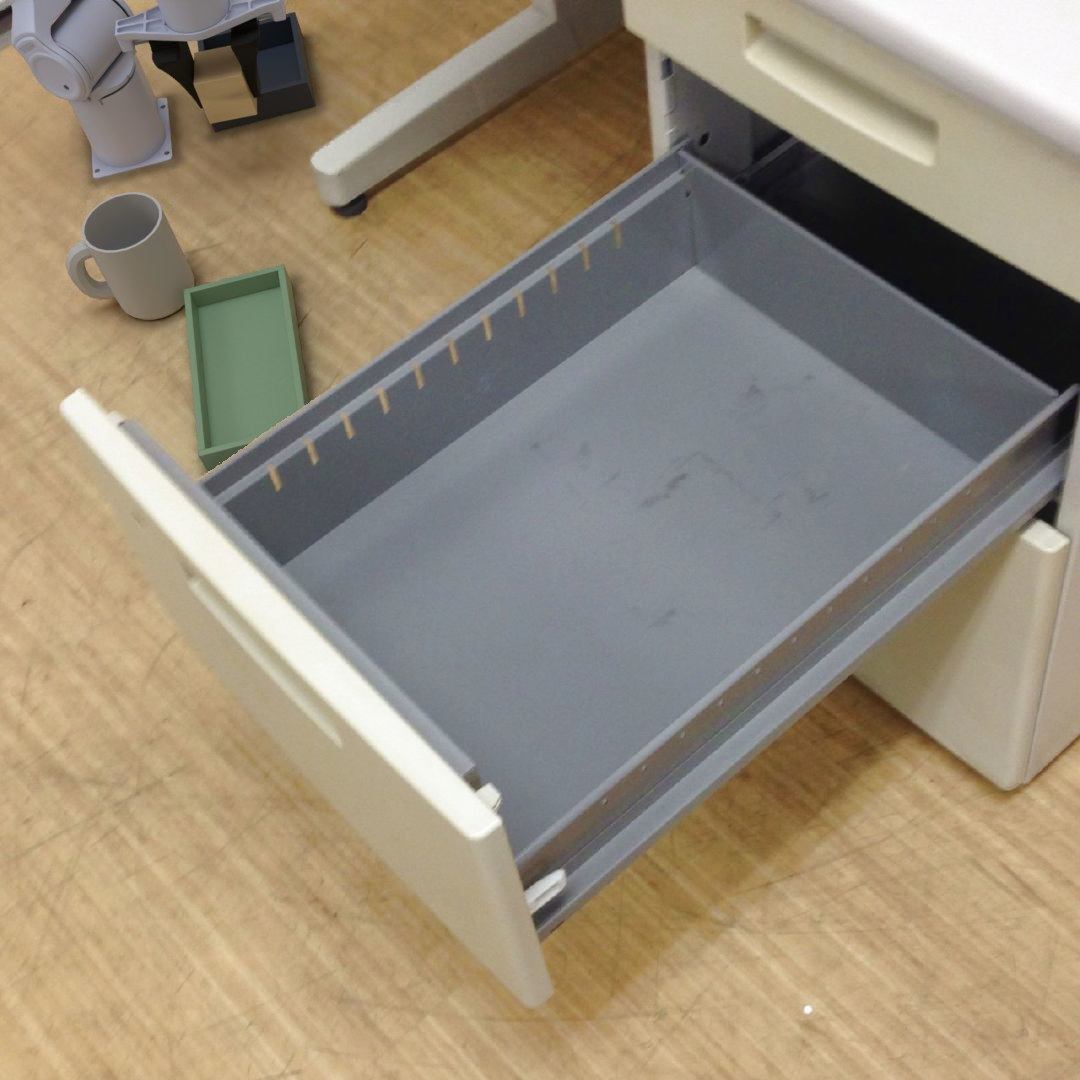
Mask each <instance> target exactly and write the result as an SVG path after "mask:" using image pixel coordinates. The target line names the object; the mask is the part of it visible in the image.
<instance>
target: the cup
mask: <svg viewBox="0 0 1080 1080" xmlns="http://www.w3.org/2000/svg"><path fill="white" fill-rule="evenodd" d="M80 235H81V238H82V240H79V241H78V242H76V243H75V244H73V245H72V247H71V248H70V250H69V251H68V253H67V255H66V258H65V268H66V272H67V274H68V277H69V278H70V280H71V281H72V283H73V284H74V285H75V286H76V287H77V288H78V290H79V291H80V292H81V293H83V294H84V295H86V296H88V297H89V298H91V299H94V300H98V301H103V300H111V299H115V300H116V301H117V303H118V304H119V306H120V307H121V309H122V310H123V311H124V313H126V314H127V315H129V316H131V317H133V318H135V319H139V320H144V321H153V320H159V319H164V318H165V317H168V316H171V315H173V314H175V313H176V312H177V311H179V310H181V309H182V308H183V307H184V306H185V301H184V289H188V288H192V287H195V275H194V273H193V271H192V268H191V265H190V264H189V261H188V259H187V257H186V255H185V253H184V251H183V249H182V246H181V245H180V243H179V240H178V239H177V236H176V234H175V233H174V231H173V228H172V226H171V224H170V222H169V220H168V218H167V216H166V214H165V212H164V210H163V208H162V206H161V204H160V202H159V201H158V200H157V199H156V198H155V197H154V196H152V195H149V194H148V193H144V192H139V191H127V192H122V193H117V194H115V195H113V196H110V197H107V198H106V199H104V200H103V201H101V202H98V203H97V204H96V205H95V206H94V207H93V208H92V209H91V210H90V211H89V212H88V214H87V215H86V216H85V218H84V219H83V222H82V225H81V233H80ZM89 259H93V261H95V264H96V266H97V268H98V269H99V271H100V273H101V276H103V278H104V280H105V281H104V280H103V281H102V280H101V281H99V280H97V279H95V278H93V277H92V276H91V275H90V274H89V271H88V270H87V267H86V264H85V262H86V261H87V260H89Z"/></svg>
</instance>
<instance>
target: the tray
mask: <svg viewBox="0 0 1080 1080" xmlns="http://www.w3.org/2000/svg"><path fill="white" fill-rule="evenodd" d="M294 297H295V296H294V290H293V284H292V281H291V278H290V276H289V274H288V271H287V268H286V266H285V264H283V263H282V264H279V265H274V266H271V267H266V268H263V269H259V270H256V271H251V272H247V273H243V274H238V275H235V276H232V277H227V278H223V279H219V280H216V281H212V282H208V283H204V284H199V285H195V286H194V287H192V288H188V289H184V301H185V304H184V310H185V312H184V313H185V321H186V322H185V323H186V333H187V341H188V342H187V344H188V355H189V365H190V375H191V387H192V398H193V408H194V419H195V430H196V442H197V451H198V457H199V459H200V461H201V463H202V465H203V466H204V468H205V470H206V472H207V473H208V471H210V470H212V469H214V468H215V467H216V466H217V465H220V464H222V462H223V461H225V460H227V459H228V458H229V457H231V456H232V455H233V454H236V453H237V452H238V450H240V449H243V448H244V447H245V446H247V445H248V444H249V443H251V442H252V441H253V440H254V439H255V438H258V437H259V436H260V435H261V434H262V433H264V432H266V431H268V430H269V429H270V428H271V427H274V426H276V424H277V423H279V422H281V421H282V420H284V419H285V418H287V416H291V415H292V414H293V413H295V412H296V411H297V410H299V409H301V408H302V407H303V406H304V405H306V404H308V403H309V404H310V398H309V392H308V385H307V377H306V371H305V365H304V358H303V351H302V346H301V345H302V343H301V337H300V331H299V325H298V324H299V323H298V318H297V317H298V316H297V310H296V305H295V304H296V303H295V298H294ZM219 462H220V463H219Z"/></svg>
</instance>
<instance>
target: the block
mask: <svg viewBox="0 0 1080 1080" xmlns="http://www.w3.org/2000/svg"><path fill="white" fill-rule="evenodd" d="M193 56H194V57H193V59H194V87H195V89H196V92H197V94H198V96H199V99H200V101H201V104H202V106H203V108H202V109H203V110H204V113H205V115H206V118H207V120H208V123H209V124H210V125H212V123H217V122H222V121H227V120H232V119H237V118H242V117H247V116H252V115H257V98H254V97H253V95H252V93H251V91H250V88H249V86H248V84H247V80H246V77H245V74H244V71H243V69H242V67H241V65H240V63H239V61H238V59H237V57H236V56H235V54H234V52H233V51H232V49H231V46H226V47H221V48H216V49H211V50H206V51H201V52H199V51H196V52H194V53H193Z"/></svg>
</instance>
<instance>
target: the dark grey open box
mask: <svg viewBox="0 0 1080 1080" xmlns="http://www.w3.org/2000/svg"><path fill="white" fill-rule="evenodd" d="M259 29H260V40H259V49H258V54H257V68H258V74H259V79H260V83H261V96H260V97H258V98H257V115H252V116H247V117H242V118H237V119H232V120H227V121H222V122H217V123H212V124H211V126H212V130H213V131H214V133H217V132H222V131H225V130H230V129H233V128H237V127H242V126H245V125H249V124H252V123H257V122H261V121H265V120H269V119H273V118H277V117H280V116H284V115H288V114H289V115H290V114H291V113H296V112H299V111H303V110H308V109H311V108H316V101H315V94H314V89H313V84H312V78H311V71H310V67H309V66H310V65H309V61H308V56H307V51H306V43H305V39H304V35H303V31H302V29H301V26H300V23H299V20H298V16H297V13H296V12H295V11H291V12H288V13H286V19H285V20H282V21H274V20H273V18H268V19H263V20H259ZM196 43H197V50H198V51H197V52H201V51H206V50H211V49H216V48H221V47H226V46H231V28H230V29H228V30H226V31H223V32H221V33H219V34H216V35H214V36H212V37H209V38H207V39H203V40H199V41H196Z"/></svg>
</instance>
